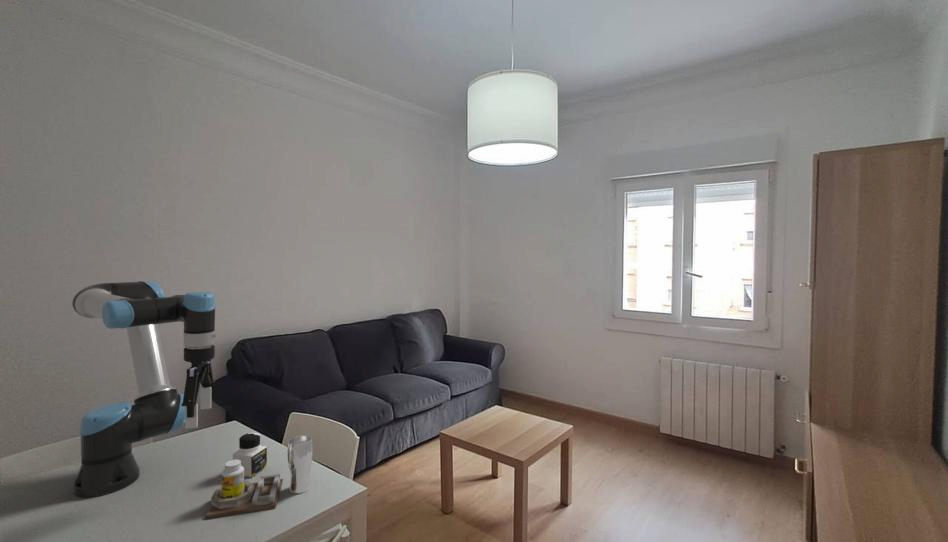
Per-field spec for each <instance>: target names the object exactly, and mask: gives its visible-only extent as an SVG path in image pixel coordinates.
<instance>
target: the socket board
mask: <svg viewBox="0 0 948 542" xmlns="http://www.w3.org/2000/svg"><path fill="white" fill-rule="evenodd" d="M283 480H284V479H283V478H281V474H280V473H279V474H278V473H277V474H271V475H265V476H264V475H263V476H260V477H259V481H258V482H250V481H247V480H244V494H242V495H240V496H238V497H235V498H228V499H222V486H221V487H218V488H216V489H215V491H214V492H213V494H212V496H211V501H210V503H211V505H210V506H209V509H208V510H207V512H206V515H205V519H206V520H208V519H215V518H220V517H228V516H232V515H233V516H234V515H240V514H247V513H252V512H259V511H265V510H272V509H276V508H277V504H278V500H279V497H280V492H281V490H282V487H283V483H282V482H284V481H283Z"/></svg>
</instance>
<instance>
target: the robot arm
mask: <svg viewBox="0 0 948 542" xmlns="http://www.w3.org/2000/svg"><path fill="white" fill-rule="evenodd" d="M71 303H72V304H71V305H72V308H73V310H74V312H75V313H77V314H78V315H79V316H81V317H84V318H87V319H102V323H103V324H104V326H105V327H106V328H107V329H110V330H113V329H114V330H115V329H126V333H127V336H128V338H127V339H128V344H129V349H130V353H131V354H130V355H131V359H132V360H131V361H132V364H133V371H134V376H135V381H136V386H137V392H138V393H137V395H136V396H135V398H134V399H133V402H134V403H133V404H131V403H130V402H128V401H121V402H120V401H119V402H113V403H109V404H106V405H102V406H99V407H97V408H95V409H92V410H91V411H89V412H88V413H86V414H84V415H83V417H82V418H81V420H80V425H79V426H80V428H79V436H80V458H81V461H80V463H81V465H80V468H79V470H78V473H77V475H76V478H75V481H74V484H73V494H74V496H76V497H81V498H93V497H99V496H100V497H101V496H104V495H108V494H111V493H114V492H117V491H120V490H123V489H124V488H127V487H128V486H130V485H132V484H133V483H135V482H136V481H137V480H138V479H139V477H140V466H139V464H138V463H137V460H136V458H135V457H134V454H133V449H132V448H133V447H132V446H133V444H134V443H137V442H141V441H144V440H148V439H151V438H154V437H158V436H162V435H167V434H169V433H171V432H174V431H177V430H180V428H182V427H183V426H184V424H185V429H195V428H196V429H197V428H198V427H199V426H198V425H199V423H198V418H199V417H198V416H199V415H198V412H199V407H198V403H197V401H198V397H199V392H200V410H210V409H212V387H215V385H216V384H215V382H214V375H213V367H212V362H211V361H212V360H213V359H215V355H216V354H215V353H216V352H215V350H216V348H215V347H216V346H215V340H216V339H215V338H217V337H218V335H217V333H215V330H216V329H215V327H216V323H215V322H216V307H217V306H216V305H217V304H216V296H215V294H214V293H213V292H207V291H195V292H193V291H192V292H187V293H185V294H174V295H172V296H166V295H165V292H164V290H163V288H162V287H161V285H160V284H158V283H156V282H155V281H144V280H142V281H141V280H140V281H139V280H138V281H130V282H129V281H126V282H125V281H124V282H104V283H101V282H100V283H95V284H92V285H88V286H87V287H83V288H82V289H80V290H79V291H78V292H76V294H75V295H74V296H73V298H72V302H71ZM178 322H180V323H181V322H183V346H184V348H183V360H184V361H185V362H187V363H191V365H190V366H191V367H189V368H187V369H186V379H185V386H184V392H183V393H178V388H176V387H174V386H172V385H171V383H170V378H169V373H168V367H167V363H166V358H165V354H164V348H163V344H162V339H161V333H160V329H159V324H161V325H162V324H169V323H170V324H171V323H178Z"/></svg>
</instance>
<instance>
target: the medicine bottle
mask: <svg viewBox="0 0 948 542" xmlns="http://www.w3.org/2000/svg"><path fill="white" fill-rule="evenodd" d="M238 439H239V440H238V441H239V442H238V446H239V447H238V448H239V449H238V450H236V451H235V452H233V453H232V460H240V461H241V466H243V467H244V478H251V477H252V478H254V477H255V476H256V475H258V474H259V473H261V472H262V471H263V470H265V469H266V468H267V467H268V457H267V456H268V454H267V453H268V452H267V451H268V448H267V446H266V445H261V434H260V433H258V432H247V433H245V434H243V435H241V436H240V437H239V438H238ZM265 467H266V468H265ZM264 468H265V469H264ZM261 470H262V471H261ZM257 473H258V474H257ZM254 475H255V476H254Z"/></svg>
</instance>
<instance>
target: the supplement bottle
mask: <svg viewBox="0 0 948 542" xmlns="http://www.w3.org/2000/svg"><path fill="white" fill-rule="evenodd" d="M244 481H245V477H244V467H243V466H241V461H240V460H233V459H232V460H231V459H230V460H229V461H227V462H225V463H224V469H223V470H222V471H221V487H222V499H228V498H235V497H238V496H240V495H242V494H244Z"/></svg>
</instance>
